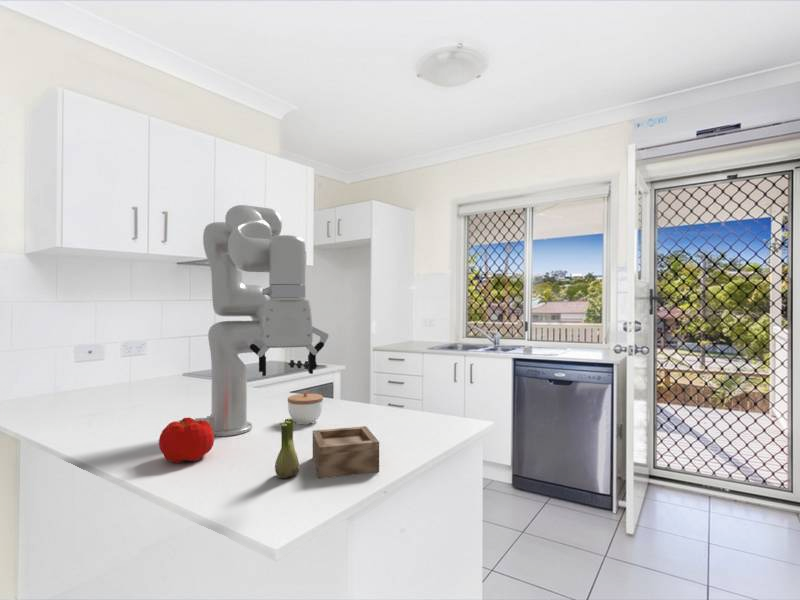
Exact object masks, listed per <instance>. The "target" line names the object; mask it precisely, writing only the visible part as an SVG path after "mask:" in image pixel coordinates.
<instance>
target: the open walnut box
mask: <svg viewBox="0 0 800 600" xmlns="http://www.w3.org/2000/svg"><path fill="white" fill-rule="evenodd" d="M312 460H313V461H312V462H313V463H315V464H314V466H316V467H315V469H317V470H316V473H317V472H318V473H317V475H319V476H318V478H319V479H325V478H324V477H328V478H334V477H333V476H336V477H343V476H342V475H345V476H353V475H352V474H354V475H362V474H368V473H369V474H370V473H377V472H380V440H378V439H377V437H376V436H375V435H374V434H373V433H372V432H371V431H370V429H369V428H368V426H366V425H364V426H356V427H355V426H353V427H343V428H329V429H327V428H326V429H317V430H312Z"/></svg>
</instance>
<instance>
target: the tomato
mask: <svg viewBox="0 0 800 600" xmlns="http://www.w3.org/2000/svg"><path fill="white" fill-rule="evenodd" d="M159 435H160V436H159V439H158V447H159V450H160V452H161V454H162V455H163V457H164V458H165V459H166V460H167V461H169V462H172V463H175V464H176V463H177V464H182V463H183V462H186V461H187V462H195V461H197V460H199V459H200V458H203V457H204V456H206V455H207V454H208V453H209V452H210V451H211V450H212V448H213V447H214V443H215V437H214V436H213V430H212V428H211V425H210V424H209V423H208V422H207V421H204V420H199V421H198V420H197V422H196V420H195V418H191V416H190V417H184V418H182V419H181V420H179V419H178V420H177V421H172V422H169V423H168V424H167V425H166V426H165V428H163V430H162V431H161V433H160V434H159Z"/></svg>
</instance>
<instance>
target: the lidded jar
mask: <svg viewBox="0 0 800 600" xmlns="http://www.w3.org/2000/svg"><path fill="white" fill-rule="evenodd" d="M323 401H324V396H323V395H322V394H318V393H308V391H307V390H306V391H303V393H297V394H293V395H290V396H288V397H287V406H288V407H287V409H288V413H289V416H290V418H292V419H293V422H296V423H298V424H297V425H310V424H309V423H312V424H314V423H316V421H317V420H318V419H319V417H320V416H321V413H322V409H323ZM313 422H314V423H313ZM296 423H295V424H296Z"/></svg>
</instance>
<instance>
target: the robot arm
mask: <svg viewBox="0 0 800 600" xmlns="http://www.w3.org/2000/svg"><path fill="white" fill-rule="evenodd" d="M224 219H225V220H224V221H215V222H211V223H208V224H207V225H206V226H205V228H204V230H203V236H202V242H203V243H202V244H203V249H204V254H205V257H206V259H207V261H208V264H209V268H210V273H211V275H210V276H211V295H212V296H211V298H212V307H213V312H214V313H215V314H216V315H217V316H221V317H250V318H251V320H224V321H219V322H215V323H213V324H212V325H211V326H210V328H209V329H208V333H207V334H208V335H207V337H208V338H207V339H208V345H209V351H210V358H211V359H210V360H211V361H210V362H211V412H210V413H211V414H210V415H209V416H206V417H195V418H194V420H196V422H197V420H198V421H199V420H204V421H207V422H208V423H209V424H210V425H211V428H212V430H213V436H215V437H226V436H227V437H228V436H235V435H236V436H237V435H241V434H244V433H248V432H249V431H251V430H252V429H253V423H252V422H250V421H248V420H247V416H248V415H247V403H248V402H247V397H248V396H247V395H248V394H247V391H248V389H247V382H248V379H247V378H248V377H247V375H248V374H247V373H248V372H247V371H248V370H247V367H246V364H245V363H244V361H243V360H242V359H241V358H240V357H239V356H238V355H239V354H240V355H241V354H247V353H254V354H255V355H256V356H257V357H258V372H259V373H262V377H266V376H267V356H266V353H267V352H268V351H269V349H270V348H271V349H277V348H278V349H280V348H281V349H283V348H306V349H307V351H309V353H308V355H307V372H308V374H310V375H312V374H314V370H317V369H316V368H317V367H316V366H317V364H316V362H317V361H316V360H317V358H316V357H317V355H318V353H319V352H320V351H321V350H322V349H323V348H324V347H325V344H326V343H327V341H328V338H329V333H327V332H326V331H325V332H324V331H322V330H320V329H319V328H316V327H315V326H313V320H312V309H311V303H310V300H306V243H305V240H304V239H303V238H302V237H300V236H299V235H290V234H288V235H287V234H284V235H280V234H281V233H282V228H283V225H282V224H283V222H282V218H281V216H280V214H279V213H278V212H277V210H275V209H272V208H268V207H262V206H254V205H248V204H242V205H241V204H238V205H235V206H233V207H230V208H229V209H228V210H227V212H226V213H225V217H224ZM243 272H248V273H252V272H253V273H269V274H268V281H269V282H268V284H269V285H268V286H267V287H264V286H262V285H259V284H244V282H243ZM313 334H314V335H316V336H318V337H320V338H319V341H318V342H317V343H316V344H314V345H315V346H314V345H313V344H312V343H313Z"/></svg>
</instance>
